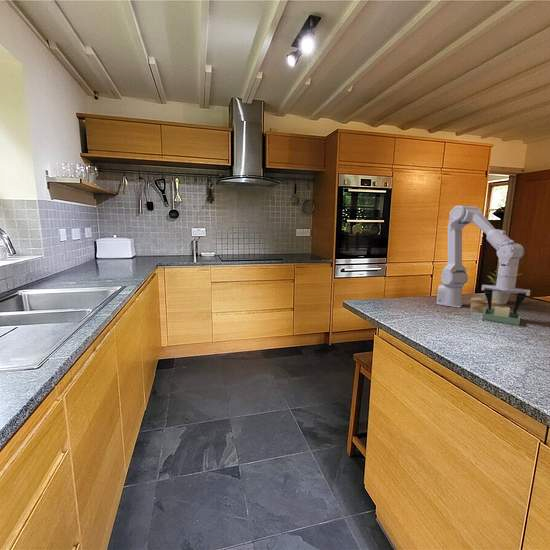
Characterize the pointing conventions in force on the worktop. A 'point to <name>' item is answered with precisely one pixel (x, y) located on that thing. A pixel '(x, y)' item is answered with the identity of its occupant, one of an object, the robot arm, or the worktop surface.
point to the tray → (501, 317)
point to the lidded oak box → (481, 304)
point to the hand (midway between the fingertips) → (501, 310)
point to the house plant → (499, 296)
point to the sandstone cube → (502, 311)
